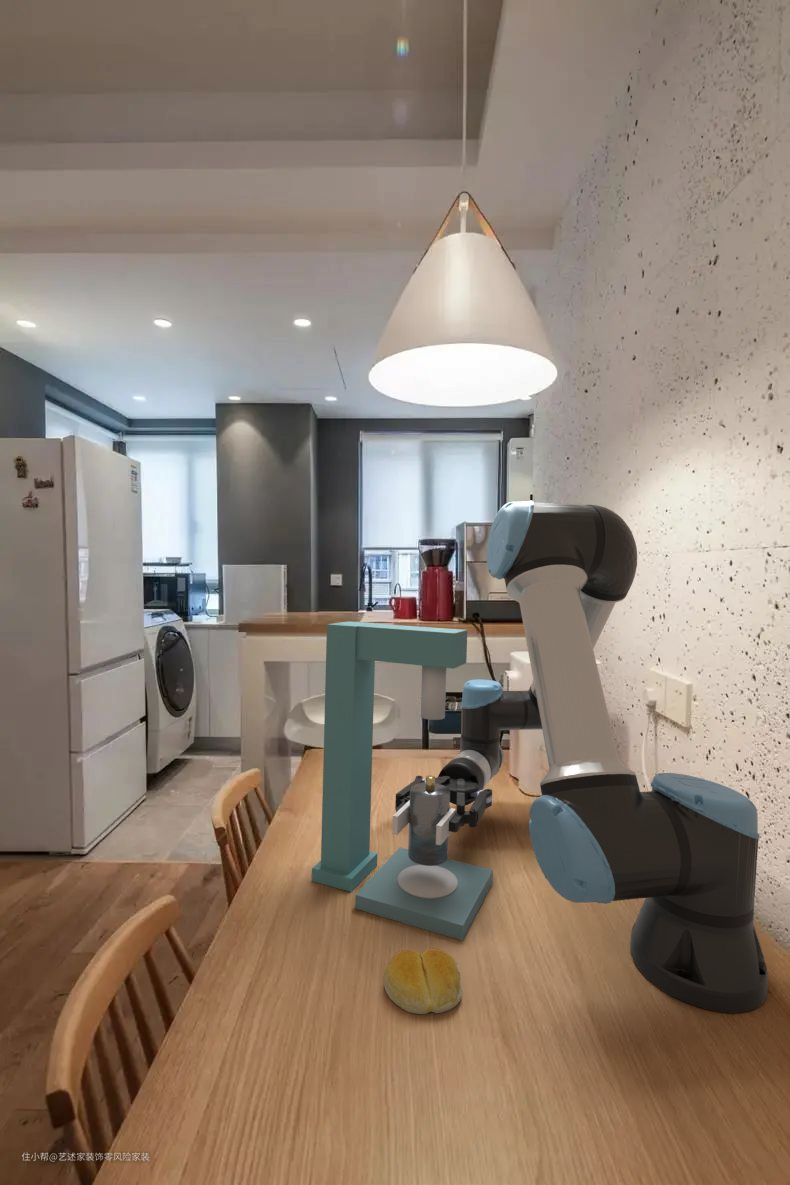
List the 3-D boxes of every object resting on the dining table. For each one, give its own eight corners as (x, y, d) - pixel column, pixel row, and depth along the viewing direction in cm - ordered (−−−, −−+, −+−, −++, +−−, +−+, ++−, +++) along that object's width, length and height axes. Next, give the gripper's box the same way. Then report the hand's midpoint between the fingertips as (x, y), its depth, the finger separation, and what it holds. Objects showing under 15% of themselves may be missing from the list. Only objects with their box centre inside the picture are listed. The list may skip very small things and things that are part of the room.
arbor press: (492, 882, 90) (501, 629, 89) (462, 940, 76) (472, 638, 74) (349, 846, 101) (356, 619, 99) (299, 891, 86) (305, 626, 85)
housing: (451, 865, 84) (454, 784, 83) (410, 866, 83) (413, 784, 82) (443, 845, 90) (446, 769, 89) (405, 846, 89) (408, 770, 88)
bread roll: (382, 967, 70) (383, 935, 70) (454, 967, 71) (456, 935, 71) (384, 1019, 62) (385, 983, 62) (466, 1019, 63) (467, 983, 62)
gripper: (516, 808, 99) (480, 872, 78) (414, 788, 106) (356, 841, 85) (518, 765, 98) (482, 817, 77) (415, 748, 106) (357, 791, 85)
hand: (416, 830), depth 81 cm, fingers closed on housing, 6 cm apart
